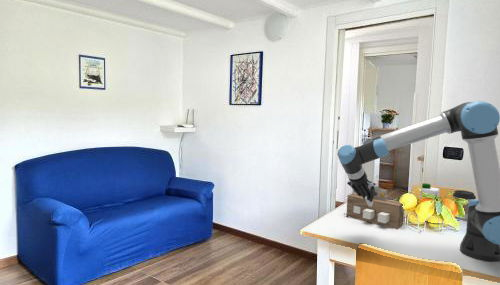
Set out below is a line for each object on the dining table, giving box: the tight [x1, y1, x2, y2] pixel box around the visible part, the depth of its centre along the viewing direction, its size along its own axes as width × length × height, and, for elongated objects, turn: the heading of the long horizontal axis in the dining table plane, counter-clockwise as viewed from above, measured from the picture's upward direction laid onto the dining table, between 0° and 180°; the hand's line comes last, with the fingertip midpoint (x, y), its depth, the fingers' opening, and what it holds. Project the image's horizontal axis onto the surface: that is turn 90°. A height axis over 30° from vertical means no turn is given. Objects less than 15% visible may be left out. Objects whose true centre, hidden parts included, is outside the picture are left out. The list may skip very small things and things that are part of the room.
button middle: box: [363, 208, 375, 219], centre depth 185 cm, size 6×4×4 cm, turn 136°
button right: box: [378, 212, 390, 223], centre depth 179 cm, size 6×4×4 cm, turn 136°
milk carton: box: [419, 183, 441, 199], centre depth 191 cm, size 9×9×20 cm
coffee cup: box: [452, 189, 477, 221], centre depth 198 cm, size 11×11×15 cm
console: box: [345, 186, 405, 230], centre depth 188 cm, size 8×28×18 cm, turn 46°
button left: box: [353, 205, 361, 214], centre depth 194 cm, size 6×4×4 cm, turn 136°
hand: (370, 204), depth 167 cm, fingers closed
